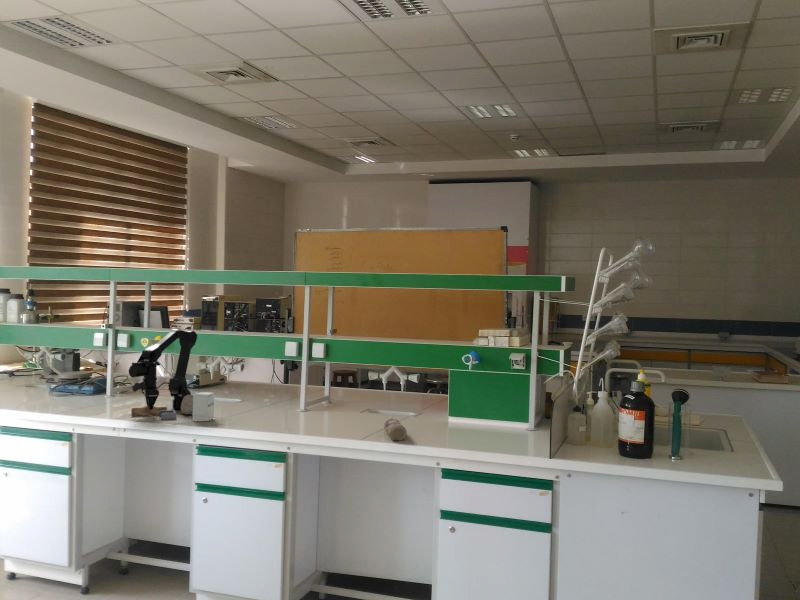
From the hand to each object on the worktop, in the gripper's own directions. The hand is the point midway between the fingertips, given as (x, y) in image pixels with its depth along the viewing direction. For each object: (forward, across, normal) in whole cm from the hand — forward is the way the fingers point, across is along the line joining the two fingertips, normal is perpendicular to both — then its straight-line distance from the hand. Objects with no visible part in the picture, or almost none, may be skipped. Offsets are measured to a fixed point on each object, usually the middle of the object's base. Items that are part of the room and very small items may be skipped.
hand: (149, 408), depth 349 cm
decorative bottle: (+4, +83, +90) cm, 123 cm away
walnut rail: (+3, 0, 0) cm, 3 cm away
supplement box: (+3, +23, +21) cm, 31 cm away
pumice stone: (+3, +7, +20) cm, 22 cm away
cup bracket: (+3, +12, +7) cm, 14 cm away
